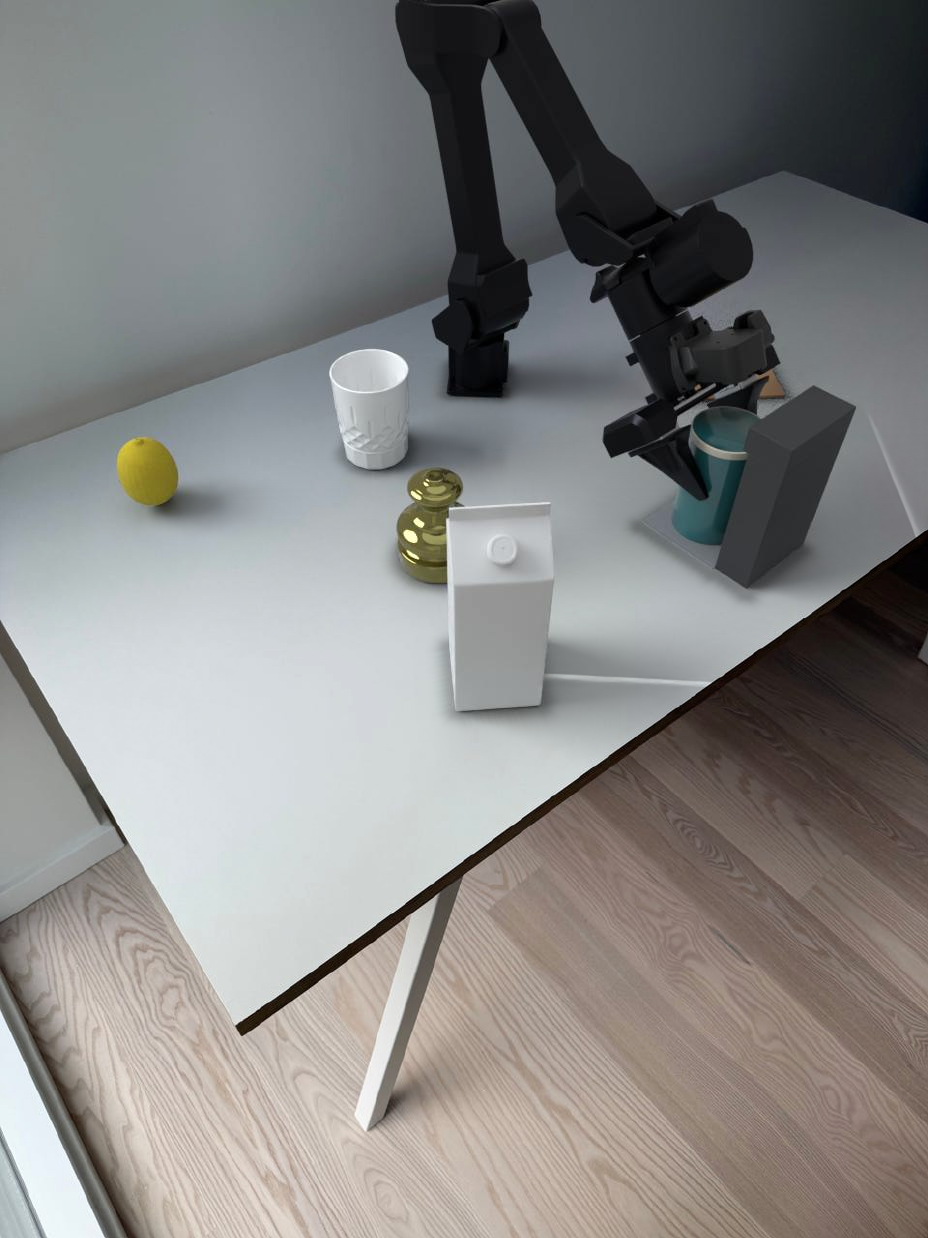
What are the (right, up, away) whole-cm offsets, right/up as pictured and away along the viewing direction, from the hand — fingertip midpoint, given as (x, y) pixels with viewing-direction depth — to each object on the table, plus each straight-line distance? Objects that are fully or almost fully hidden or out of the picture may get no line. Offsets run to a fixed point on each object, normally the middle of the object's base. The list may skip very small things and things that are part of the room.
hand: (730, 481), depth 83 cm
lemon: (-56, -1, +8) cm, 56 cm away
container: (-1, -3, +5) cm, 6 cm away
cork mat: (+6, +17, +24) cm, 30 cm away
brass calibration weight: (-27, -7, +3) cm, 28 cm away
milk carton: (-22, -18, -7) cm, 29 cm away
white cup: (-34, +5, +14) cm, 37 cm away
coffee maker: (0, -5, +5) cm, 7 cm away
